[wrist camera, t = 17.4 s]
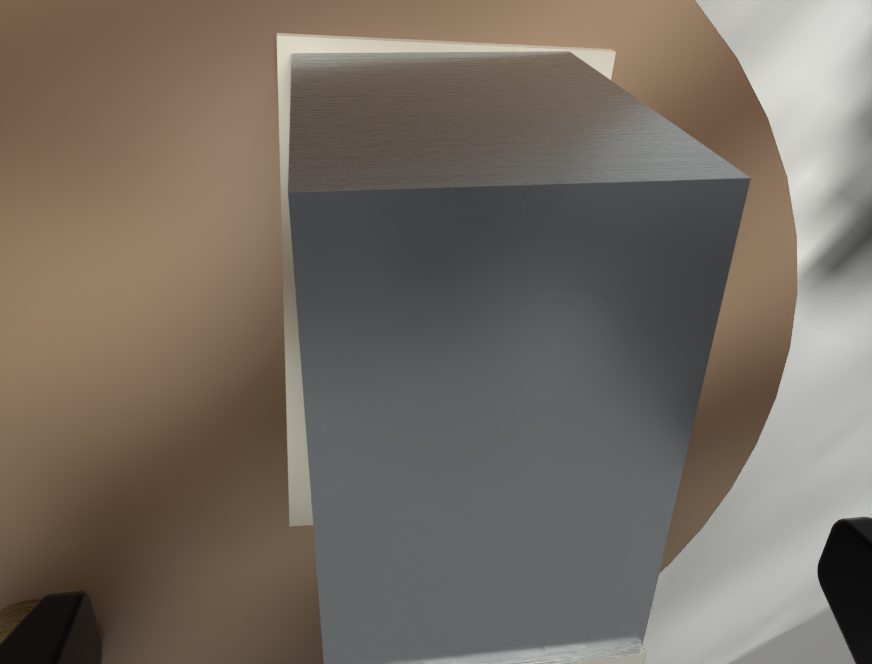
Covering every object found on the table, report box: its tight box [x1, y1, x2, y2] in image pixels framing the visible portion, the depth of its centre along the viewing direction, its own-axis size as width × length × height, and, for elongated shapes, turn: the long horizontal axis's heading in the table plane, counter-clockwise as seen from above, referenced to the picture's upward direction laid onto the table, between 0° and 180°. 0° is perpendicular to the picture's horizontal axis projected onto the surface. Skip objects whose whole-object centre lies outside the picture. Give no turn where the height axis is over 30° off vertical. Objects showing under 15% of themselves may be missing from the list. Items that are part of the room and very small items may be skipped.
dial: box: [0, 0, 797, 664], centre depth 15 cm, size 20×20×6 cm
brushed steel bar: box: [288, 51, 751, 664], centre depth 12 cm, size 9×4×6 cm, turn 179°
